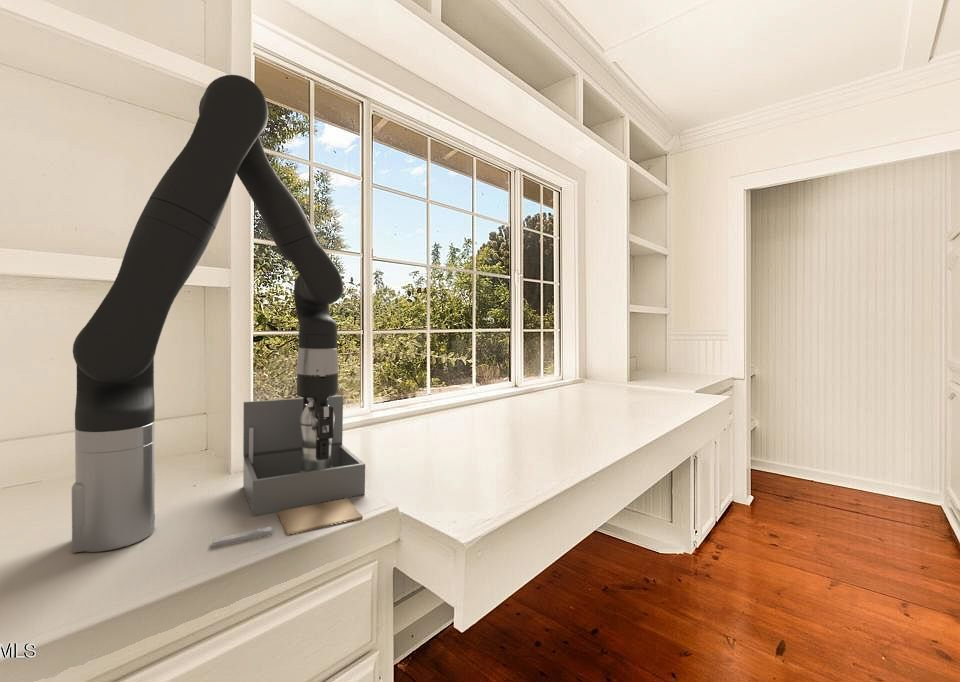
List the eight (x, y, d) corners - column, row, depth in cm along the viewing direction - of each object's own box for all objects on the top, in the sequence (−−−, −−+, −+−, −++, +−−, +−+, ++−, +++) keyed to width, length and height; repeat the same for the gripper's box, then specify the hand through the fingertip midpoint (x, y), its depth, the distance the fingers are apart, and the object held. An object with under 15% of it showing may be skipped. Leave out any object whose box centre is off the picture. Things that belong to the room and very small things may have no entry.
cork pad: (287, 535, 69) (287, 532, 69) (277, 513, 77) (277, 511, 77) (362, 518, 76) (362, 516, 76) (347, 500, 83) (347, 498, 83)
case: (252, 516, 75) (253, 417, 75) (243, 485, 89) (243, 401, 89) (364, 494, 86) (366, 408, 86) (340, 470, 100) (342, 395, 99)
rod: (212, 550, 65) (212, 542, 65) (211, 547, 66) (211, 539, 66) (271, 537, 69) (272, 529, 69) (270, 533, 70) (270, 526, 70)
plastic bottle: (290, 494, 85) (291, 391, 85) (318, 483, 91) (319, 387, 91) (314, 501, 82) (315, 394, 82) (341, 489, 88) (342, 390, 88)
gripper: (290, 368, 90) (289, 447, 90) (305, 376, 78) (304, 466, 79) (328, 367, 94) (327, 442, 95) (347, 374, 82) (346, 460, 83)
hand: (316, 453), depth 87 cm, fingers open, 8 cm apart
